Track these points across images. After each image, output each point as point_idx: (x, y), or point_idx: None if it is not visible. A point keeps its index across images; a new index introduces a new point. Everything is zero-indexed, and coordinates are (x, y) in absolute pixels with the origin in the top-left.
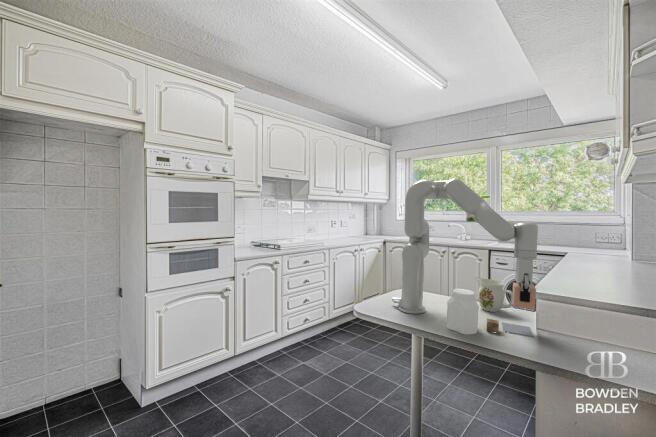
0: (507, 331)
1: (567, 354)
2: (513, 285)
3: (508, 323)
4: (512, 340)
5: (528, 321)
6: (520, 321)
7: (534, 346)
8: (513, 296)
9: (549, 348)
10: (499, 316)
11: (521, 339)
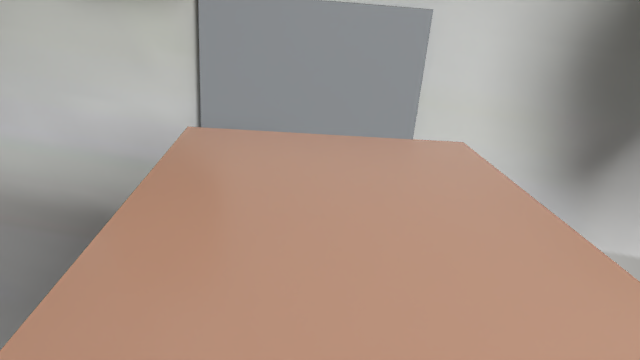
0: (199, 23)
1: (11, 331)
2: (475, 323)
3: (420, 65)
4: (31, 37)
5: None
6: (528, 172)
7: (13, 177)
8: (310, 179)
9: (43, 260)
10: (617, 14)
11: (102, 112)
